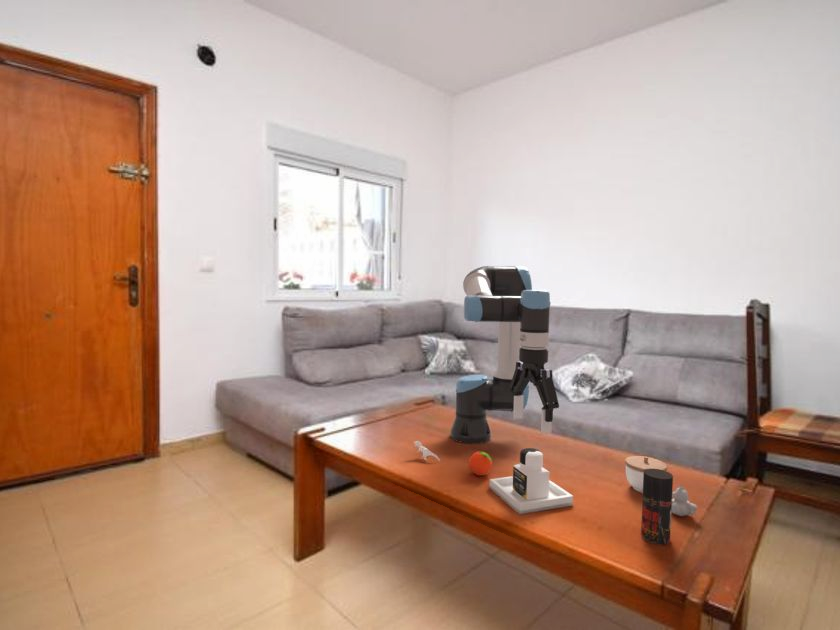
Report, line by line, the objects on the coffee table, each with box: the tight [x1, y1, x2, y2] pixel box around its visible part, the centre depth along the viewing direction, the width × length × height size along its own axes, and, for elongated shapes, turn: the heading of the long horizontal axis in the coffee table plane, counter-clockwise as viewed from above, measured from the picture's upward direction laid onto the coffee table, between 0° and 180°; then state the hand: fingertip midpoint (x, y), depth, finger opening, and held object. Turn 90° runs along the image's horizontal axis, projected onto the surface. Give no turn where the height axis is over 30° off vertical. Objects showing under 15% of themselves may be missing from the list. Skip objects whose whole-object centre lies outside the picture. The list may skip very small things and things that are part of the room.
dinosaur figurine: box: [413, 440, 441, 462], centre depth 152 cm, size 15×12×6 cm
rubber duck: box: [671, 484, 698, 517], centre depth 116 cm, size 5×7×8 cm
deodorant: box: [640, 469, 674, 546], centre depth 105 cm, size 6×6×15 cm
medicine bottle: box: [512, 447, 550, 500], centre depth 125 cm, size 7×7×12 cm
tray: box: [489, 475, 574, 515], centre depth 126 cm, size 16×16×2 cm
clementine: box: [468, 450, 493, 476], centre depth 140 cm, size 8×7×7 cm
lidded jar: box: [624, 455, 668, 494], centre depth 131 cm, size 11×11×9 cm
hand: (531, 425), depth 125 cm, fingers open, 13 cm apart
